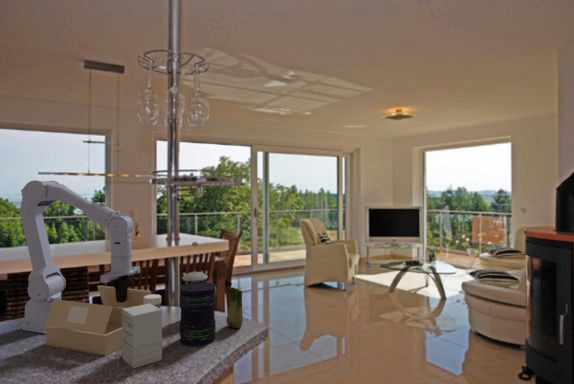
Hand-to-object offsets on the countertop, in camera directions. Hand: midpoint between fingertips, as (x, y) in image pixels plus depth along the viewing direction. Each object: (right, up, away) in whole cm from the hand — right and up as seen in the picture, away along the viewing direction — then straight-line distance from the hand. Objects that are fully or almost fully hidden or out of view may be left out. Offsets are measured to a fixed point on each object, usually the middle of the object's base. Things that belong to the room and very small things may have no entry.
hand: (121, 301), depth 123 cm
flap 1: (-5, 0, -15) cm, 16 cm away
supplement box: (+14, -9, -21) cm, 27 cm away
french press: (+21, -8, +9) cm, 24 cm away
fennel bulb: (+33, -9, +2) cm, 35 cm away
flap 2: (+1, 0, +2) cm, 2 cm away
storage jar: (+24, -9, -8) cm, 27 cm away
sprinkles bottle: (+13, -9, -13) cm, 21 cm away
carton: (-2, -8, -6) cm, 11 cm away
